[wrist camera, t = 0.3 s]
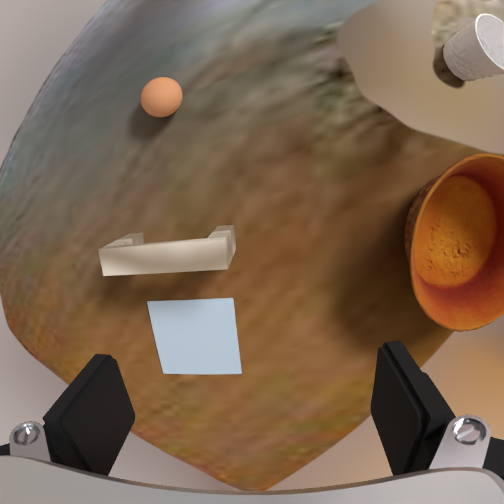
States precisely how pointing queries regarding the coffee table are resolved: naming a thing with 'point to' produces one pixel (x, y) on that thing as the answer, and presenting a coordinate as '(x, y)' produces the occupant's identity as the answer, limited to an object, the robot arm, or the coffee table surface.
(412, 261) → the bowl
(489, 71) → the white cup
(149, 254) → the bridge
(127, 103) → the coffee table surface
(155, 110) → the ball
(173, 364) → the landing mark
